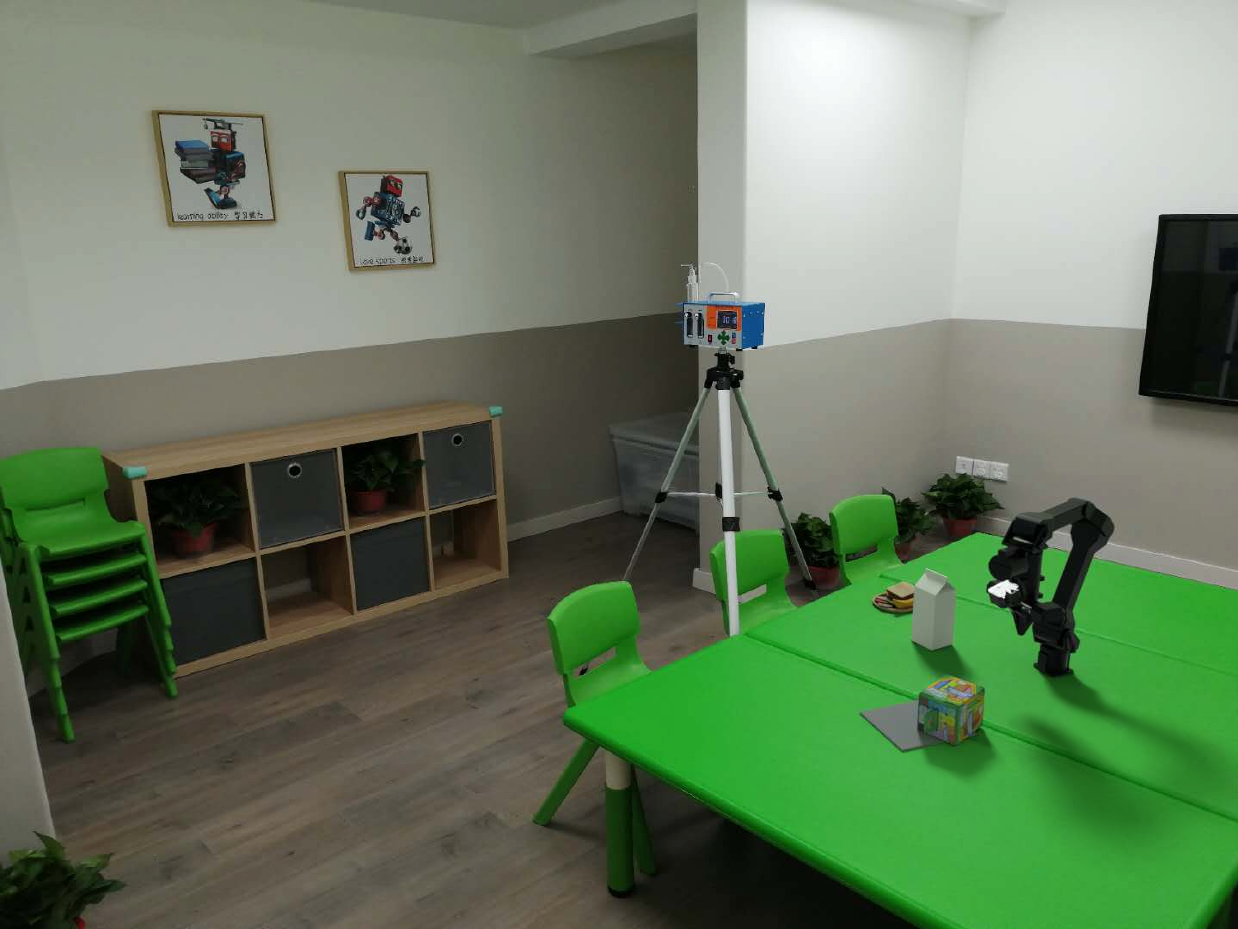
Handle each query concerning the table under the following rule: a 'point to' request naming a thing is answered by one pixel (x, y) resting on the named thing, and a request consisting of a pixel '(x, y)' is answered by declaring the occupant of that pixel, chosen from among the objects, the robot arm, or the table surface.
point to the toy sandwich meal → (896, 598)
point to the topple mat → (901, 725)
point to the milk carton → (933, 611)
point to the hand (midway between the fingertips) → (1020, 635)
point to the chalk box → (951, 709)
